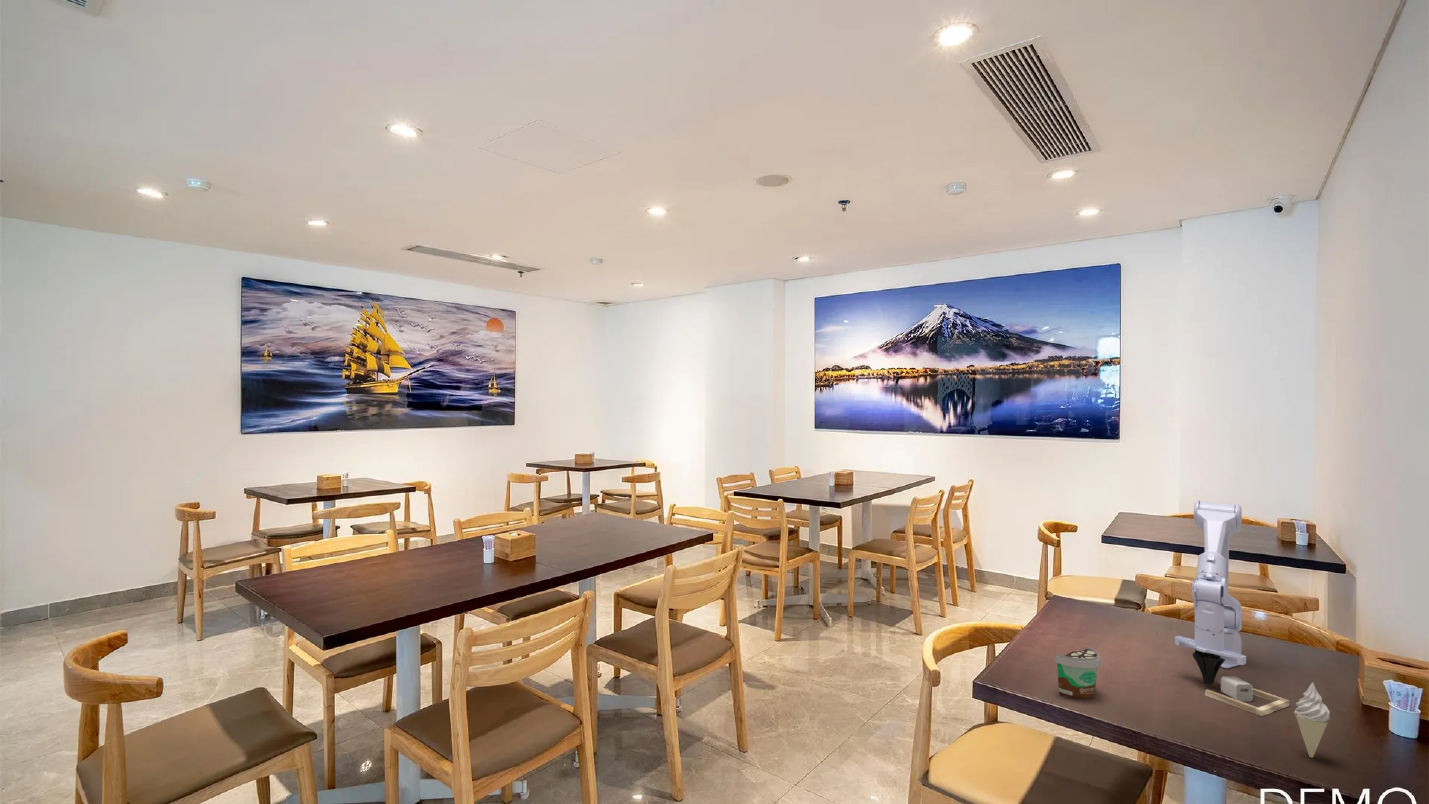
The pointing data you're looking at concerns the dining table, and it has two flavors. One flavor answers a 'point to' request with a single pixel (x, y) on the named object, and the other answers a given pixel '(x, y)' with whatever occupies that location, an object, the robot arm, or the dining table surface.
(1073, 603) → the dining table surface
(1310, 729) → the ice cream cone
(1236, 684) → the usb wall charger
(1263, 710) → the charger bay
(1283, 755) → the dining table surface
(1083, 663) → the food container
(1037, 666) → the dining table surface
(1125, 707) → the dining table surface
